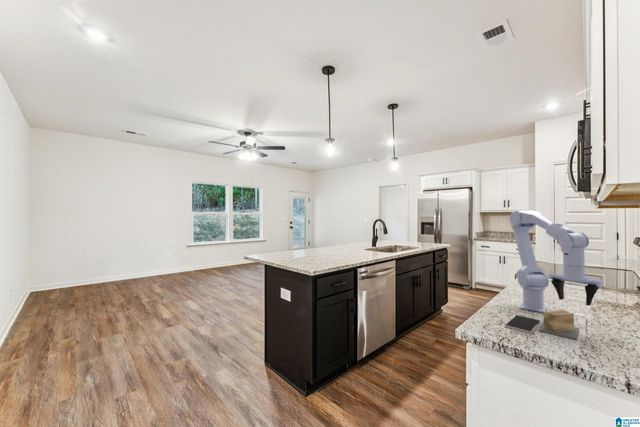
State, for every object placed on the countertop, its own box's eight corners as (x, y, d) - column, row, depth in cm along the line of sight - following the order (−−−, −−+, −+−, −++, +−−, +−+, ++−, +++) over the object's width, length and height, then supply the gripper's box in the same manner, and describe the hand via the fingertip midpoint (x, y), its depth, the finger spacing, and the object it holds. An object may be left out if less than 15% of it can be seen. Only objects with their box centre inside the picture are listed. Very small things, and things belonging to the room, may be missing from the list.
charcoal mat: (543, 321, 104) (543, 320, 104) (578, 328, 97) (578, 327, 97) (538, 331, 96) (538, 329, 96) (577, 340, 88) (577, 338, 88)
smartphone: (541, 320, 103) (532, 331, 94) (541, 323, 103) (532, 334, 94) (516, 314, 110) (505, 324, 100) (516, 317, 110) (505, 327, 100)
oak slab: (544, 327, 98) (543, 311, 98) (562, 325, 99) (561, 309, 99) (555, 332, 94) (554, 315, 94) (574, 330, 95) (573, 313, 95)
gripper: (605, 267, 94) (606, 305, 94) (554, 261, 107) (554, 295, 107) (598, 269, 90) (599, 309, 90) (546, 263, 103) (546, 298, 103)
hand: (574, 301), depth 98 cm, fingers open, 7 cm apart
